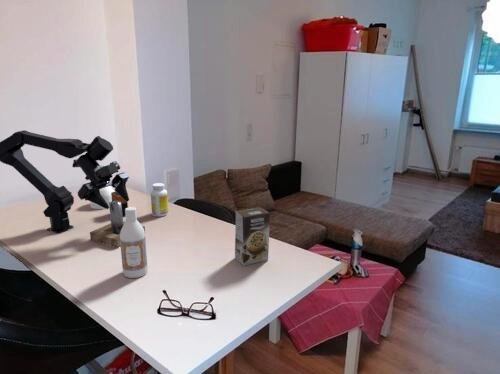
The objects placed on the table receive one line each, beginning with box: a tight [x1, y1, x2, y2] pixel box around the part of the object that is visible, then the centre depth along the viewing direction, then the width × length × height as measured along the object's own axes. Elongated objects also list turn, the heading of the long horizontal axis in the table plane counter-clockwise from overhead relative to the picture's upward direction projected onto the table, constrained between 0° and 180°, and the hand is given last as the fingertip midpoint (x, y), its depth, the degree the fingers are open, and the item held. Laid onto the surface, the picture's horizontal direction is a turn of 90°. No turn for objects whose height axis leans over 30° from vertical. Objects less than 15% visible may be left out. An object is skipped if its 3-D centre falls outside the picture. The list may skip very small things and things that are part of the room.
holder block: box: [89, 220, 146, 249], centre depth 134 cm, size 13×13×3 cm
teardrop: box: [89, 185, 115, 210], centre depth 164 cm, size 11×11×12 cm
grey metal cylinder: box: [109, 201, 124, 235], centre depth 132 cm, size 4×4×13 cm
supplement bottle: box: [150, 182, 169, 218], centre depth 154 cm, size 7×7×13 cm
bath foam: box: [120, 206, 148, 279], centre depth 107 cm, size 7×7×20 cm
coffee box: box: [234, 206, 271, 267], centre depth 117 cm, size 9×6×16 cm
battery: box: [111, 190, 129, 217], centre depth 154 cm, size 4×7×10 cm, turn 38°
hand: (118, 204), depth 130 cm, fingers open, 9 cm apart
